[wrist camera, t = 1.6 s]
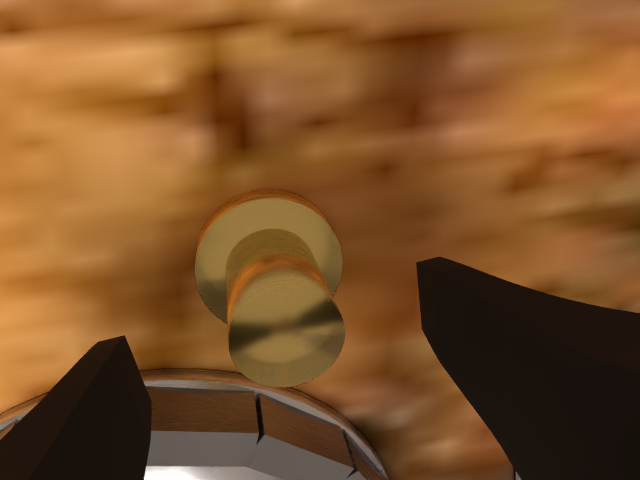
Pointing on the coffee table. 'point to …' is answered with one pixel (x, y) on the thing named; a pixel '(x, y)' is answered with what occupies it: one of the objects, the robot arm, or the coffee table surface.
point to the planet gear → (273, 285)
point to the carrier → (241, 431)
